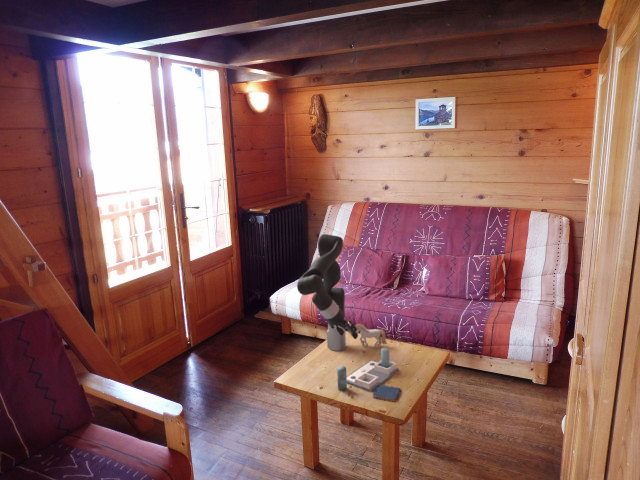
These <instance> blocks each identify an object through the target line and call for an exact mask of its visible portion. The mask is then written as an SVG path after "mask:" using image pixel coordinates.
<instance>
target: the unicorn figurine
mask: <svg viewBox="0 0 640 480" xmlns="http://www.w3.org/2000/svg"><path fill="white" fill-rule="evenodd" d="M354 326H355V327H356V328H357V331H356V333H357V334H358V335H359V334H360V337H359V341H360V343H361V345H363V347H362V348H364V349H366V348H368V347H369V345H368V344H369V343H367V338H368V339H372V338H374V339H375V340H376V342H375V343H374V349H377V348H378V347H380V346H381V345H384V346H385V345H388V342H387V337H386V331H385V330H384V329H377V328H375V329H368V328H367V327H366V326H365V325H363V324H362V323H358V324H355V325H354Z"/></svg>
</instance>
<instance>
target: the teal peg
mask: <svg viewBox="0 0 640 480" xmlns="http://www.w3.org/2000/svg"><path fill="white" fill-rule="evenodd" d="M336 370H337V371H336V372H337V373H336V374H337V390H338V391H339V392H345V391H347V390H348V384H347V376H348V375H347V367H346V366H344V365H340V366H337V368H336Z"/></svg>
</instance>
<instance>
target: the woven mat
mask: <svg viewBox="0 0 640 480" xmlns="http://www.w3.org/2000/svg"><path fill="white" fill-rule="evenodd" d="M401 392H402V388H401V387H396V386H389V385H383V384H381V385H378V387H377V388H376V389H375V390H374V391H373V394H372V398H373V399H376V400H377V399H379V400H383V401H385V402H387V401H389V402H393V403H396V402H397V401H398V400H399V397H400V395H401V394H402V393H401Z"/></svg>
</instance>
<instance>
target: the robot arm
mask: <svg viewBox="0 0 640 480" xmlns="http://www.w3.org/2000/svg"><path fill="white" fill-rule="evenodd" d="M343 248H344V239H343V237H341V236H338V235H333V234H327V233H323V234H321V235H320V236H319V237H318V240H317V249H318V254H319V257H317V258H316V259H315V260H314V261H313V262H312V263H311V265H310V267H309V269H308V270H306V272H304V273H303V274H302V276H300V277H299V279H298V281H297V285H296V286H297V287H296V288H297V292H298V293H299V294H300V295H303V296H308V295H312V294H313V295H312V297H311V302H312V303H313V305H315V307H316V308H317V310H318V311H319V313H320V314H321V316H322V317H323V318H324V319H325V321H326V323H327V330H326V341H327V344H326V345H327V346H326V347H327V348H328V349H329V350H331V351H332V352H333V351H335V352H339V351H340V352H341V351H343V350H346V348H347V339H346V337H347V336H346V333H347V332H348V333H349V334H350V335H351V337H352V338H353V339H354V340H357V338H359V333H358V334H357V333H356V331H357V328H356V327H355V326H356V325H354V323H353V321H351V320H348V321H347V320H346V311H345V310H346V309H345V305H346V304H345V301H346V297H345V296H346V295H345V293H346V292H345V289H344V288H342V287H335V286H336V285H337V284H338V283H339V282H340V280H341V277H342V274H341V267H340V266H341V265H340V264H339V262H338V261H337V259H338V258H339V257H340V255H341V253H342V251H343Z"/></svg>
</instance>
